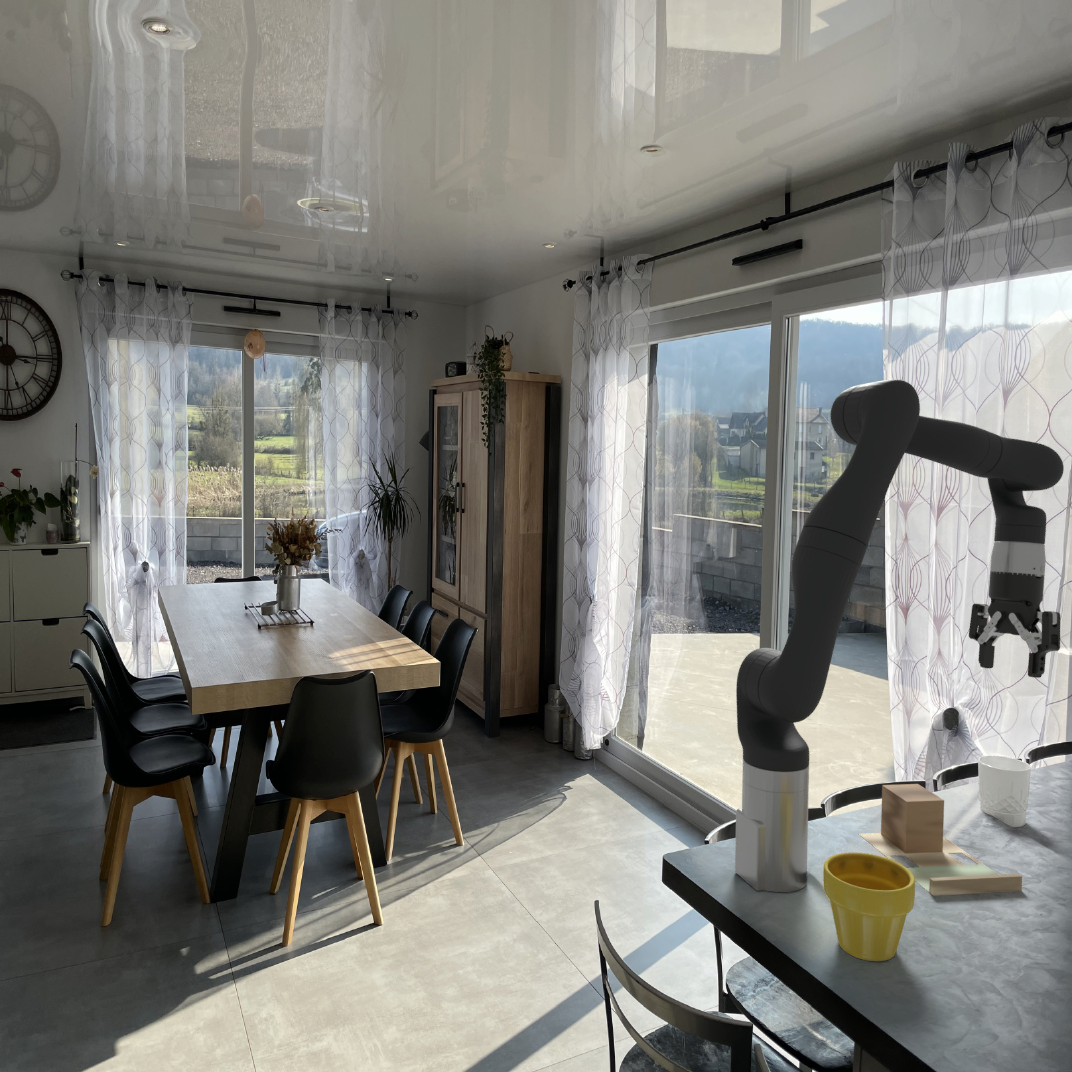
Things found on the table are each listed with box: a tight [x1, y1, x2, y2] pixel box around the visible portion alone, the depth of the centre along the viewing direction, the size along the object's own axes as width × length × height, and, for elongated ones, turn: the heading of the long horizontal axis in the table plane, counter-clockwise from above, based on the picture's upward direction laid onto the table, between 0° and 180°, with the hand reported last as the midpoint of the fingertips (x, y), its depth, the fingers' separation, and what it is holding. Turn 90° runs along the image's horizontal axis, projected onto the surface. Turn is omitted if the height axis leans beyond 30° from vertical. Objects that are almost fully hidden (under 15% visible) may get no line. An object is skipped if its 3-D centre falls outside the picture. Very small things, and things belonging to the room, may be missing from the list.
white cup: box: [977, 755, 1032, 828], centre depth 139 cm, size 8×8×10 cm
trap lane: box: [858, 832, 1023, 897], centre depth 120 cm, size 20×13×4 cm, turn 6°
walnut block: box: [880, 783, 945, 854], centre depth 126 cm, size 7×6×8 cm
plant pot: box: [822, 851, 916, 962], centre depth 100 cm, size 10×10×10 cm
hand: (1009, 672), depth 129 cm, fingers open, 8 cm apart
